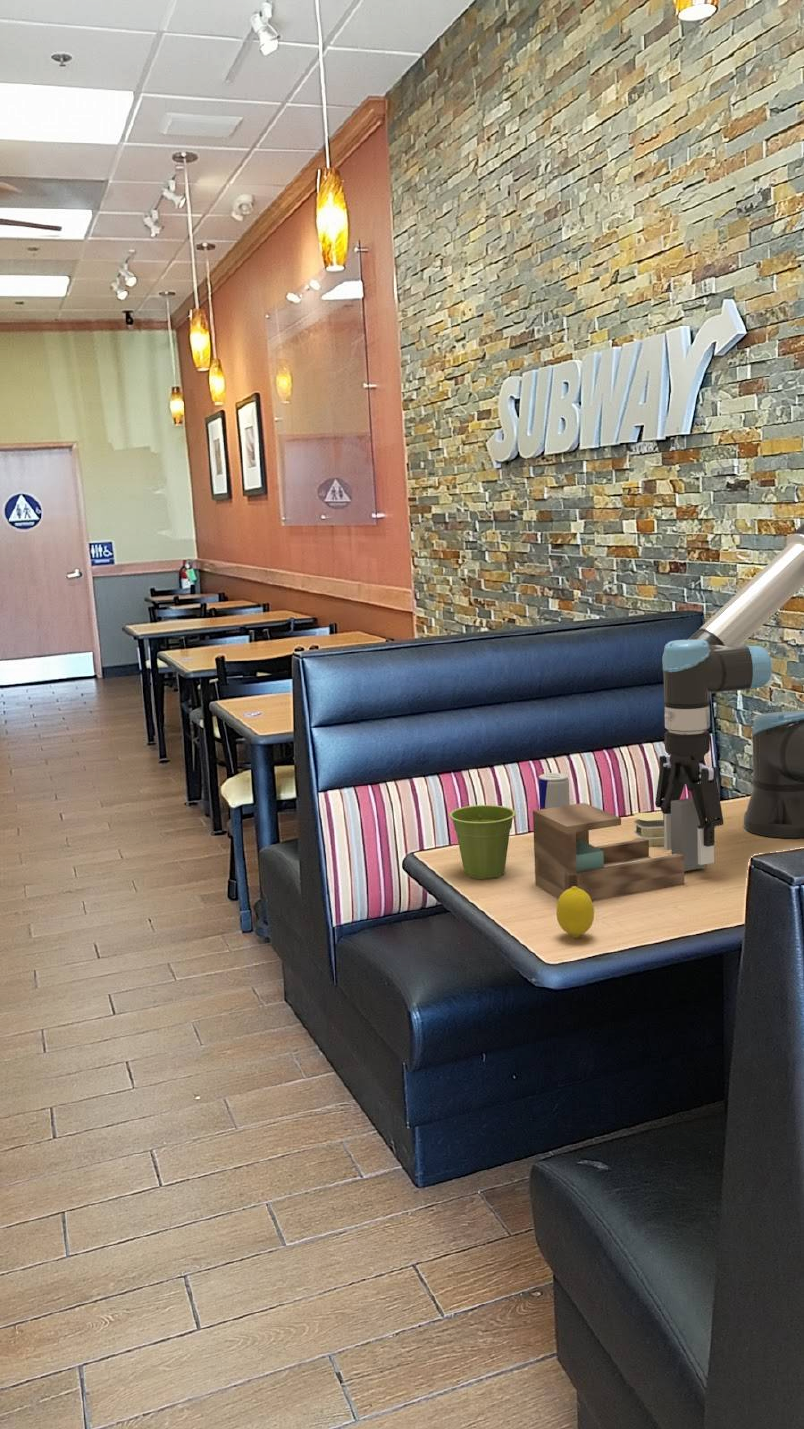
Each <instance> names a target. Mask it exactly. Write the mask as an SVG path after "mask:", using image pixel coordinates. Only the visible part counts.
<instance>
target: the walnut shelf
mask: <svg viewBox="0 0 804 1429" xmlns="http://www.w3.org/2000/svg"><path fill="white" fill-rule="evenodd" d="M532 825H533V827H532V828H533V849H534V852H533V853H534V855H533V856H534V877H535V878H534V879H535V881H534V882H535V886H537V887H538V888H540V889H542V890H543V891H545V892H547V893H548V894H550V895H552V896H553V897H555V898H556V899H559V897H560V895H561V894H562V893H563V892H564V891H566V890H567V889H570V888H571V887H572V886H576V887H577V888H579V889H582V890H584V891H585V892H586V893H587V894H588V895H589V896H590V898H591V900H592V902H594V901H599V900H600V901H601V900H606V899H610V898H617V897H622V896H626V895H627V896H628V895H632V894H638V893H643V892H649V891H653V890H660V889H664V888H670V887H675V886H680V885H685V871H684V855H682V854H675V855H672V854H669V856H667V855H663V856H664V857H661V856H657V857H658V858H655V857H653V856H652V857H651V856H650V847H649V840H647V839H641V838H640V839H633V840H627V841H622V842H615V843H610V844H609V843H608V844H603V845H599V846H595V847H596V848H598V849H601V850H603V858H604V866H606V867H601V868H595V869H589V870H583V871H578V872H577V856H576V842H578V841H584V842H586V843H588V844H590V836H589V834H590V833H589V832H590V831H593V830H600V829H605V828H607V829H608V828H612V827H618V826H622V817H620V816H617V815H614V814H612V813H610V812H608V811H605V810H603V809H600V808H598V807H596V806H594V805H591V804H588V803H586V802H582V803H575V804H574V803H573V804H570V805H567V806H560V807H553V808H547V809H540V808H539V809H534V810H532ZM650 858H652V859H650ZM644 859H646V860H644ZM638 860H641V861H638ZM632 861H635V862H632ZM627 862H629V863H627ZM621 863H623V864H621ZM615 864H618V865H615ZM610 865H612V866H610Z"/></svg>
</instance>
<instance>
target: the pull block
mask: <svg viewBox="0 0 804 1429" xmlns="http://www.w3.org/2000/svg"><path fill="white" fill-rule="evenodd" d="M699 825H701V824H700V821H699V818H698V814H697V811H696V808H695V804H694V801H693V798H692V797H687V798H680V800H674V801H671V850H670V851H671V855H675V854H682V855H684V872H687V871H691V870H692V871H693V870H697V869H698V870H699V869H704V868H707V864H704V865H699V864H698V830H697V826H699ZM596 847H597V846H594V845H592V844H590V843H589V844H588V843H586V842H584V841H578V842H576V856H577V872H578V871H583V870H589V869H595V868H601V867H606V866H604V858H603V850H601V849H598V848H596ZM669 855H670V854H669ZM669 855H666V856H669ZM664 856H665V855H662V856H660V857H664ZM658 857H659V856H657V857H654V858H658ZM652 858H653V857H652ZM652 858H650V859H652ZM644 860H646V859H644ZM638 861H641V860H638ZM632 862H635V861H632ZM627 863H629V862H627ZM621 864H623V863H621ZM615 865H618V864H615ZM610 866H612V865H610Z"/></svg>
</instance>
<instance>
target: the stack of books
mask: <svg viewBox="0 0 804 1429" xmlns="http://www.w3.org/2000/svg"><path fill="white" fill-rule="evenodd" d="M633 816H634V817H636V818H637V820H633V824H635V827H636V828H635V829H636V830H634V831H633V833H634V834H635V835H636V836H637V837H638V838H640V839H647V840H649V848H651V847H657V846H659V847H660V846H664V823H663V813H659V812H658V813H657V812H638V813H635V814H633Z"/></svg>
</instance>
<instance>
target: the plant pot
mask: <svg viewBox="0 0 804 1429" xmlns="http://www.w3.org/2000/svg"><path fill="white" fill-rule="evenodd" d="M516 814H517V813H516V810H514V809H512V808H511V807H507V806H503V805H495V804H494V805H493V804H478V805H477V804H476V805H468V806H467V805H466V806H464V807H459V808H456V809H453V810H452V811H450V812H449V814H448V817H449V818H450V819H451V820H452V823H453V828H454V831H455V833H456V838H457V842H458V846H459V847H458V848H459V852H460V857H461V862H462V863H461V864H462V868H463V873H464V874H465V875H466V876H467V877H469V878H471V879H478V880H487V879H488V878H494V879H496V878H499V877H501V876H503V875H504V873H505V871H506V863H507V854H508V847H509V840H510V835H511V834H510V832H511V829H512V826H513V820H514V818H515V817H516Z"/></svg>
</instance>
